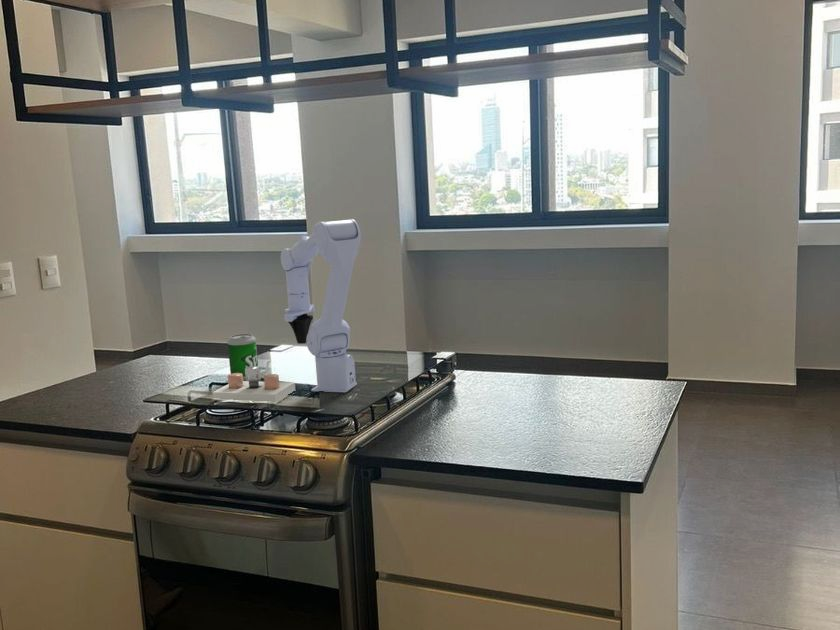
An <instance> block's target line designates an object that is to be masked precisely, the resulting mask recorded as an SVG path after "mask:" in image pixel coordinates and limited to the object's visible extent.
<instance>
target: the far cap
mask: <svg viewBox="0 0 840 630" xmlns="http://www.w3.org/2000/svg"><path fill="white" fill-rule="evenodd" d="M227 383H228V384H229V388H235V389H239V388H241V387H243V375H242V373H233V374H231V373H229V374H228V375H227Z"/></svg>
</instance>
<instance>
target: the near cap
mask: <svg viewBox="0 0 840 630" xmlns="http://www.w3.org/2000/svg"><path fill="white" fill-rule="evenodd" d="M263 382H264V385H265V389H266V390H276V389H278V388H279V387H280V386H279V382H280V375H279V374H277V373H271V374H266V375H264V376H263Z"/></svg>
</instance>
